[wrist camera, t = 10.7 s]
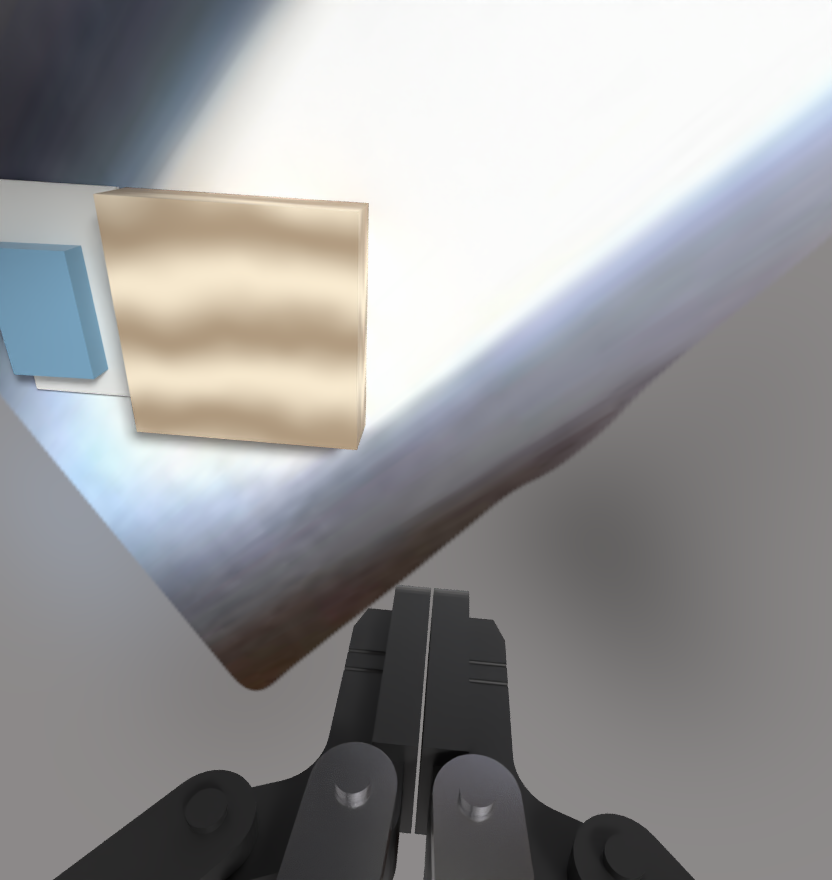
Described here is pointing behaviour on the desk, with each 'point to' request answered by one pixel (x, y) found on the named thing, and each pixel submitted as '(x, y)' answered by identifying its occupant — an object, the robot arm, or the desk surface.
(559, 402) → the desk surface
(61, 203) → the mat
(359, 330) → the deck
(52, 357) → the blue flat block
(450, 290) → the desk surface
